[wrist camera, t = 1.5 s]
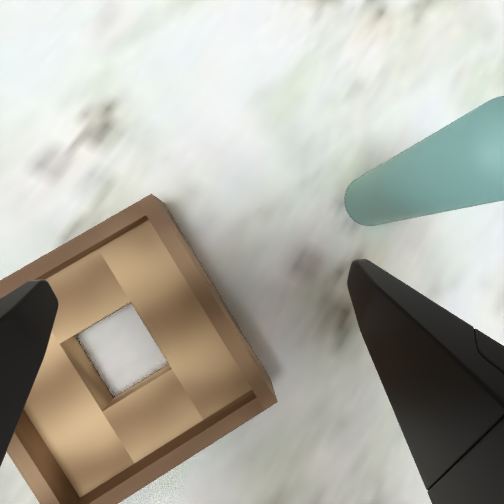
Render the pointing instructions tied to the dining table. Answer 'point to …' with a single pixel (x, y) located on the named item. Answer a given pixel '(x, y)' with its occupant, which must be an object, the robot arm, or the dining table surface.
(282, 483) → the dining table surface
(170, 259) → the bore box
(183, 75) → the dining table surface
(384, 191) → the peg
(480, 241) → the dining table surface
